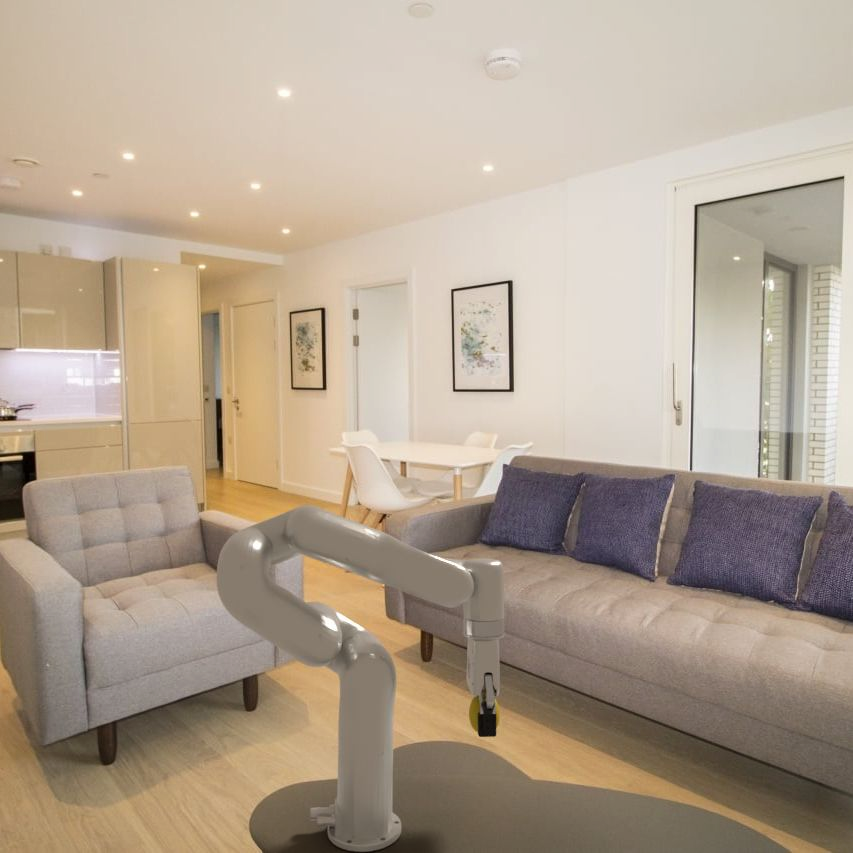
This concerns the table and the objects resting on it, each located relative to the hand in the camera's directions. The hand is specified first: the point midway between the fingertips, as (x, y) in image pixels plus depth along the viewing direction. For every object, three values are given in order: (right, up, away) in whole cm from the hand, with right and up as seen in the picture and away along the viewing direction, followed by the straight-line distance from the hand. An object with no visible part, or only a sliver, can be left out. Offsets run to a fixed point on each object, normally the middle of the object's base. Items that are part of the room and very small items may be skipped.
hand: (484, 728), depth 116 cm
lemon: (0, -2, 0) cm, 2 cm away
